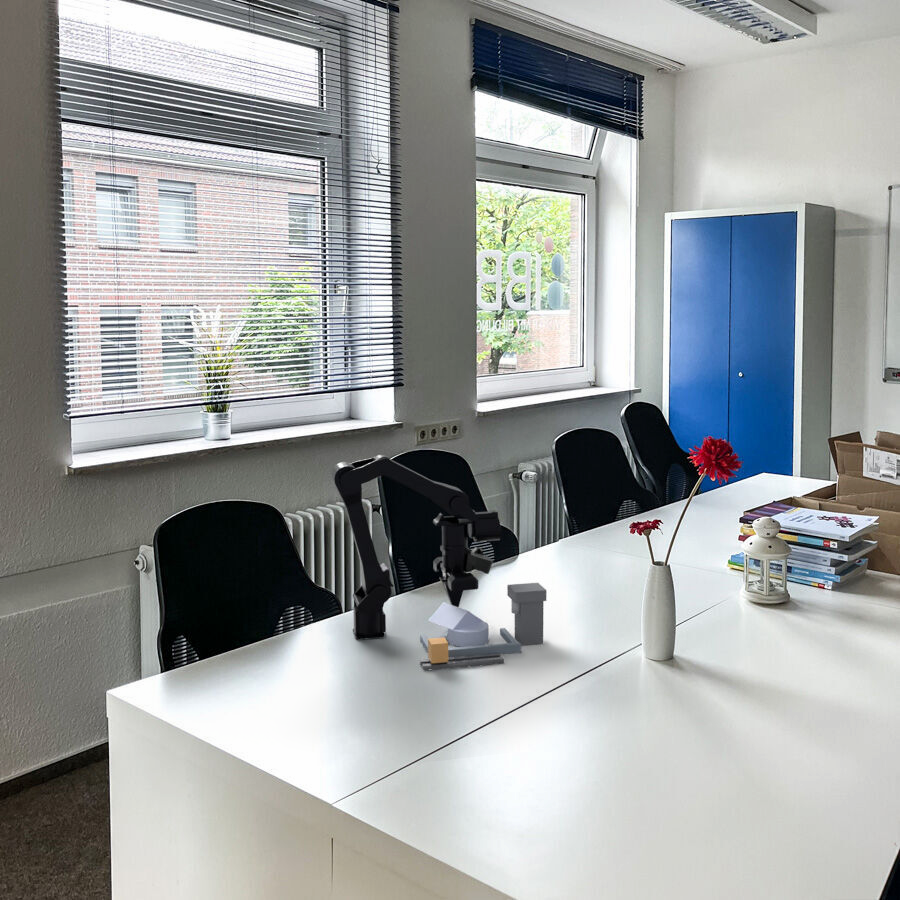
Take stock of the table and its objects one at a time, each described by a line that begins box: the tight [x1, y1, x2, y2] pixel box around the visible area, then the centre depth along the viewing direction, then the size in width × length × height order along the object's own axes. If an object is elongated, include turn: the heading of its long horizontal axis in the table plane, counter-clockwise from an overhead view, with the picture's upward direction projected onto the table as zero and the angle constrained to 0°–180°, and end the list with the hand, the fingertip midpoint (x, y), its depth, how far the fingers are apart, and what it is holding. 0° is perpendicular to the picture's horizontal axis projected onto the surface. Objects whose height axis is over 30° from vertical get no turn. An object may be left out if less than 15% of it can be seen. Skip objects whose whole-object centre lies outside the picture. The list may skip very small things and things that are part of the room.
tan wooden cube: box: [427, 637, 449, 663], centre depth 203 cm, size 4×4×5 cm
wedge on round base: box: [428, 601, 490, 647], centre depth 220 cm, size 9×7×13 cm
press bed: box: [419, 582, 547, 657], centre depth 215 cm, size 26×12×12 cm, turn 103°
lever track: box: [419, 653, 505, 671], centre depth 205 cm, size 17×4×1 cm, turn 103°
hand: (455, 609), depth 228 cm, fingers closed
